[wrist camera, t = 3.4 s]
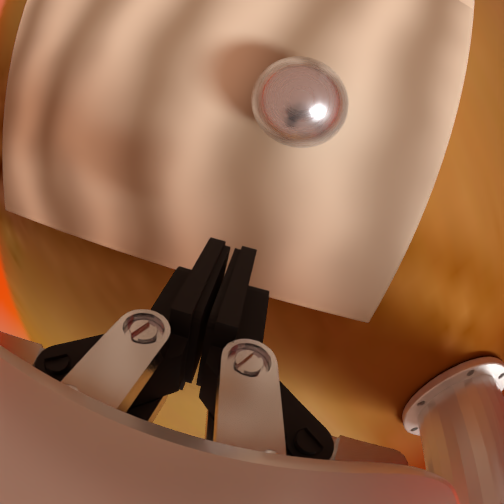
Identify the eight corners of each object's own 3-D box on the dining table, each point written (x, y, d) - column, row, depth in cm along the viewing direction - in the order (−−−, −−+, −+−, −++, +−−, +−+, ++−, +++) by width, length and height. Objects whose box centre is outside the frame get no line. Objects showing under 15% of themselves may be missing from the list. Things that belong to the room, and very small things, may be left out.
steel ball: (350, 79, 12) (368, 66, 8) (328, 153, 13) (339, 167, 10) (269, 56, 12) (257, 36, 8) (249, 131, 14) (232, 137, 10)
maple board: (462, -77, 4) (469, -84, 3) (364, 308, 19) (368, 323, 18) (95, -106, 5) (86, -112, 3) (16, 203, 20) (5, 209, 18)
